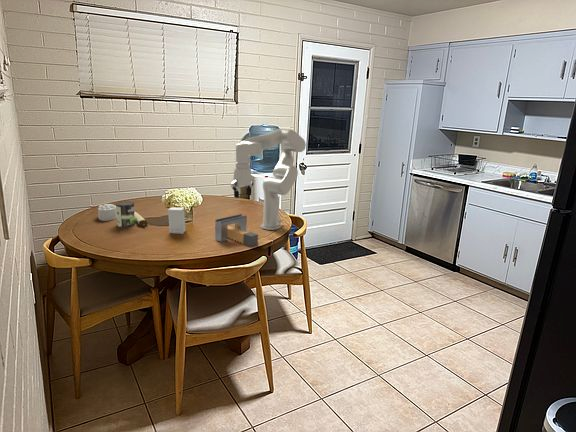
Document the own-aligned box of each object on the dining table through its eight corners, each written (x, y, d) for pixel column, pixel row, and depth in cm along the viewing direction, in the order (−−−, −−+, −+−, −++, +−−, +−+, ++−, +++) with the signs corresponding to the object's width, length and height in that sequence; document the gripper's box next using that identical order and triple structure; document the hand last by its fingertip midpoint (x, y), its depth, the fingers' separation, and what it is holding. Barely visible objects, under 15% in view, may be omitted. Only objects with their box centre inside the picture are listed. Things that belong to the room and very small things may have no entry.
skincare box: (185, 231, 234) (185, 207, 230) (183, 234, 228) (182, 209, 224) (171, 230, 234) (170, 206, 230) (168, 234, 228) (167, 209, 224)
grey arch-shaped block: (240, 233, 236) (240, 213, 233) (246, 235, 233) (246, 215, 230) (215, 239, 222) (215, 219, 219) (221, 242, 219) (221, 221, 216)
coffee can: (138, 224, 243) (137, 202, 239) (129, 229, 233) (127, 205, 229) (123, 222, 245) (122, 200, 241) (113, 227, 235) (111, 204, 231)
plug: (226, 233, 234) (226, 224, 232) (257, 244, 218) (258, 234, 216) (219, 235, 230) (220, 225, 228) (250, 246, 214) (251, 236, 212)
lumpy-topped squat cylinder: (118, 215, 259) (117, 202, 257) (114, 221, 247) (113, 207, 245) (101, 215, 257) (100, 203, 254) (96, 221, 244) (95, 207, 242)
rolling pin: (149, 229, 236) (149, 221, 234) (139, 230, 232) (139, 222, 231) (136, 216, 261) (136, 208, 260) (127, 216, 258) (127, 209, 257)
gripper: (249, 163, 225) (249, 192, 230) (226, 166, 212) (226, 197, 217) (258, 165, 220) (258, 194, 225) (235, 168, 207) (236, 200, 212)
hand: (242, 196), depth 221 cm, fingers open, 9 cm apart
